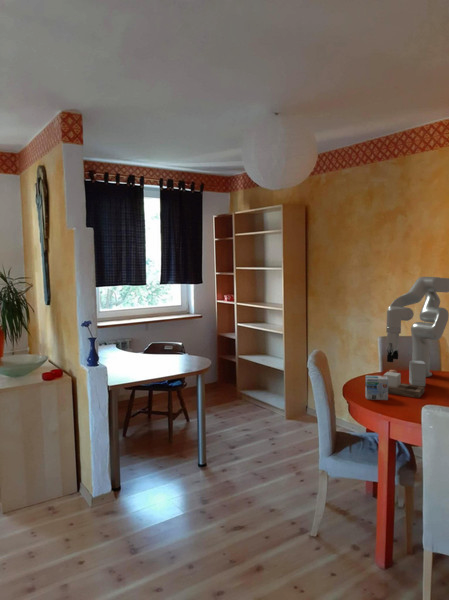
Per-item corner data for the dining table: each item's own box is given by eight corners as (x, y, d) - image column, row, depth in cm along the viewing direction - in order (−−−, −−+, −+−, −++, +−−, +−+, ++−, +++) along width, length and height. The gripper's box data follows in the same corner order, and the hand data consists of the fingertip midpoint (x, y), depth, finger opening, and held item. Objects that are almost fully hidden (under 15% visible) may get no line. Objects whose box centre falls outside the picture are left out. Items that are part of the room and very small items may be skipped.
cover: (387, 382, 249) (387, 371, 249) (400, 384, 245) (400, 373, 245) (383, 385, 244) (383, 374, 243) (397, 387, 240) (397, 376, 239)
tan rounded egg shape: (390, 381, 262) (390, 369, 261) (397, 382, 260) (397, 370, 259) (388, 383, 259) (388, 371, 258) (395, 384, 256) (395, 371, 256)
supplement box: (425, 386, 251) (426, 363, 250) (411, 385, 253) (411, 363, 251) (422, 382, 258) (423, 360, 257) (408, 382, 260) (409, 360, 258)
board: (385, 386, 253) (385, 381, 252) (424, 392, 241) (424, 386, 241) (378, 391, 243) (379, 386, 243) (419, 398, 231) (419, 392, 231)
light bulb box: (366, 399, 231) (366, 378, 230) (364, 395, 238) (364, 375, 237) (388, 400, 229) (389, 379, 228) (386, 396, 236) (386, 375, 235)
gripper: (391, 327, 265) (390, 357, 267) (382, 331, 251) (381, 362, 252) (404, 329, 261) (403, 358, 262) (396, 332, 247) (395, 364, 248)
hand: (392, 360), depth 257 cm, fingers open, 9 cm apart
